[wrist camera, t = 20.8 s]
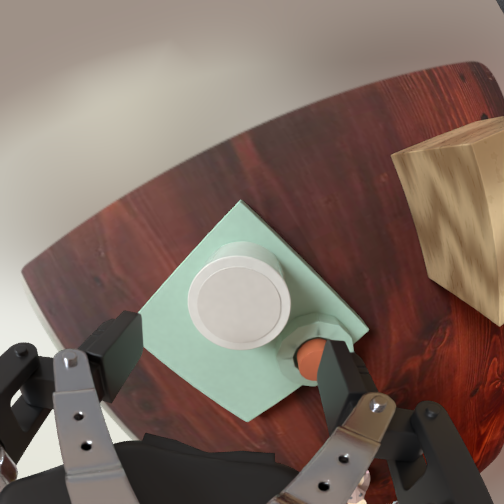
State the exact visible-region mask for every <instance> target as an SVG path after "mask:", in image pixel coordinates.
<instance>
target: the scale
mask: <svg viewBox="0 0 504 504" xmlns="http://www.w3.org/2000/svg"><path fill="white" fill-rule="evenodd" d="M240 241H244V242H252V243H256V244H259V245H261V246H263V247H265V248H266V249H268V250H269V251H271V252H272V253H273V254H274V255H275V256H276V257H277V258H278V260H279V261H280V263H281V265H282V267H283V270H284V273H285V276H286V280H287V284H288V288H289V292H290V297H291V312H290V316H289V319H288V322H287V324H286V326H285V327H284V329H283V330H282V331H281V333H280V334H279V335H278V336H277V337H276V338H275V339H273V340H272V341H271V342H269V343H267V344H265V345H263V346H261V347H258V348H255V349H250V350H232V349H227V348H224V347H221V346H218V345H216V344H214V343H212V342H211V341H209V340H208V339H207V338H205V337H204V336H203V335H202V334H201V333H200V332H199V331H198V329H197V328H196V327H195V325H194V323H193V321H192V319H191V317H190V314H189V310H188V292H189V288H190V285H191V283H192V281H193V279H194V278H195V276H196V275H197V273H198V272H199V270H200V269H201V267H202V266H203V264H204V263H205V261H206V260H207V258H208V257H209V256H210V255H211V254H212V253H213V252H214V251H215V250H217V249H218V248H219V247H221V246H223V245H226V244H229V243H232V242H240ZM138 313H139V314H141V316H142V329H143V346H144V347H145V348H146V349H147V350H148V351H149V352H151V353H152V354H153V355H154V356H155V357H157V358H158V359H159V360H160V361H161V362H163V363H164V364H165V365H166V366H168V367H169V368H170V369H172V370H173V371H174V372H175V373H177V374H178V375H179V376H181V377H182V378H183V379H185V380H186V381H187V382H189V383H190V384H191V385H193V386H194V387H195V388H197V389H198V390H199V391H201V392H202V393H204V394H205V395H206V396H208V397H209V398H211V399H212V400H214V401H215V402H217V403H218V404H220V405H221V406H223V407H224V408H226V409H227V410H229V411H230V412H232V413H233V414H235V415H236V416H238V417H239V418H241V419H243V420H244V421H246V422H249V421H250V420H252V419H253V418H255V417H257V416H258V415H260V414H261V413H263V412H264V411H266V410H267V409H269V408H270V407H272V406H273V405H275V404H276V403H278V402H279V401H281V400H282V399H283V398H285V397H286V396H288V395H289V394H291V393H292V392H293V391H295V390H296V389H298V388H299V387H300V386H302V385H305V386H317V385H318V384H317V381H311V380H307V379H305V378H304V377H303V376H302V375H301V374H300V371H299V367H298V361H297V352H298V350H299V348H300V347H301V346H302V345H303V344H304V343H305V342H307V341H309V340H312V339H324V340H340V341H345V342H346V345H347V347H348V349H349V351H350V352H354V348H353V344H354V343H355V342H356V341H358V340H359V339H360V338H361V337H362V336H363V335H364V334H365V333H367V332H368V331H369V328H368V327H367V325H366V324H365V323H364V321H363V320H362V319H361V318H360V316H359V315H358V314H357V313H356V312H355V311H354V310H353V309H352V308H351V307H350V306H349V305H348V304H347V303H346V302H345V301H344V300H343V299H342V298H341V297H340V296H339V295H338V294H337V293H336V292H335V291H334V290H333V289H332V288H331V287H330V286H329V285H328V284H327V283H326V282H325V281H324V280H323V279H322V277H321V276H320V275H319V274H318V273H317V272H316V271H315V270H314V269H313V268H312V267H311V266H310V265H309V264H308V263H307V262H306V261H305V260H304V259H303V258H302V257H301V256H300V255H299V254H298V253H297V252H296V251H295V250H293V249H292V248H291V247H290V246H289V245H288V244H287V243H286V242H285V241H284V240H283V239H282V238H281V237H280V236H279V235H278V234H277V233H276V232H275V231H274V230H273V229H272V228H271V227H270V226H269V225H268V224H267V223H266V222H265V221H264V220H263V219H262V218H261V217H260V216H259V215H258V214H257V213H256V212H254V211H253V210H252V209H251V208H250V207H249V206H248V205H247V204H246V203H245V202H244V201H243V200H240V201H239V202H238V203H237V204H236V205H235V206H234V207H233V208H232V209H231V210H230V211H229V212H228V213H227V215H226V216H225V217H224V218H223V219H222V220H221V221H220V222H219V223H218V224H217V225H216V226H215V227H214V228H213V229H212V230H211V232H210V233H209V234H208V235H207V236H206V237H205V238H204V239H203V240H202V241H201V242H200V243H199V245H198V246H197V247H196V248H195V249H194V250H193V251H192V252H191V253H190V254H189V255H188V257H187V258H186V259H185V260H184V261H183V262H182V263H181V264H180V265H179V267H178V268H177V269H176V270H175V271H174V272H173V273H172V274H171V276H170V277H169V278H168V279H167V280H166V281H165V282H164V283H163V285H162V286H161V287H160V288H159V289H158V290H157V291H156V293H155V294H154V295H153V296H152V297H151V298H150V299H149V301H148V302H147V303H146V304H145V305H144V306H143V308H142V309H141V310H140V311H139V312H138Z"/></svg>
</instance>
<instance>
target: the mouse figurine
mask: <svg viewBox="0 0 504 504" xmlns="http://www.w3.org/2000/svg"><path fill="white" fill-rule="evenodd" d="M369 483H370V473H369V471H368V470H367V471H366V472H365V474H364V476H363V478H362V479H361V481H360V483H359V484H358V486H357V487H356V489H355V491H354V492H353V494H352V495H351V497H350V498H349V500H348V501H347V503H348V504H367V503H366V501H365V500H364V495H365V492H366V490H367V488H368V486H369Z"/></svg>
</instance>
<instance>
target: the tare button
mask: <svg viewBox="0 0 504 504" xmlns="http://www.w3.org/2000/svg"><path fill="white" fill-rule="evenodd" d="M326 341H327V340H324V339H312V340H309V341H307V342H305V343H304V344H303V345H302V346H301V347H300V348H299V350H298V352H297V361H298V367H299V371H300V374H301V375H302V376H303V377H304V378H305V379H307V380H311V381H317V371H318V367H319V364H320V360H321V357H322V353H323V350H324V346H325V343H326Z"/></svg>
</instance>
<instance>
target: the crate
mask: <svg viewBox="0 0 504 504" xmlns="http://www.w3.org/2000/svg"><path fill="white" fill-rule="evenodd" d="M391 158H392V160H393V163H394V165H395V168H396V170H397V173H398V176H399V178H400V181H401V184H402V187H403V190H404V192H405V195H406V198H407V201H408V204H409V207H410V210H411V214H412V217H413V220H414V223H415V227H416V230H417V234H418V237H419V241H420V245H421V248H422V252H423V256H424V260H425V265H426V269H427V273H428V277H429V278H430V279H431V280H433V281H435V282H436V283H438V284H439V285H441V286H442V287H444V288H445V289H447V290H448V291H450V292H451V293H453V294H454V295H456V296H457V297H459V298H460V299H461V300H463V301H464V302H466V303H467V304H469V305H470V306H472V307H473V308H474V309H476V310H477V311H479V312H480V313H481V314H483V315H484V316H486V317H487V318H488V319H490V320H491V321H492V322H494V323H495V324H497V325H498V326H499V327H500V326H501V325H503V324H504V116H503V117H497V118H492V119H487V120H481V121H476V122H473V123H471V124H468V125H465V126H463V127H460V128H457V129H455V130H452V131H449V132H447V133H444V134H442V135H439V136H437V137H434V138H431V139H429V140H426V141H424V142H421V143H419V144H416V145H414V146H411V147H409V148H406V149H404V150H401V151H399V152H397V153H394V154H392V155H391Z"/></svg>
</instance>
